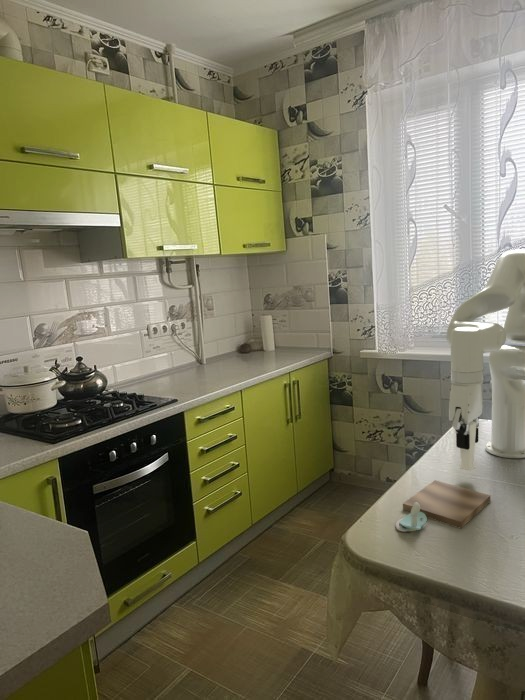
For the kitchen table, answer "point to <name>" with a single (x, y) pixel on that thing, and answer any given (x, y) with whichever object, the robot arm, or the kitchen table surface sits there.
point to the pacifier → (412, 520)
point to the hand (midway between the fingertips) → (467, 444)
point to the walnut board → (448, 503)
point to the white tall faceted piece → (468, 455)
